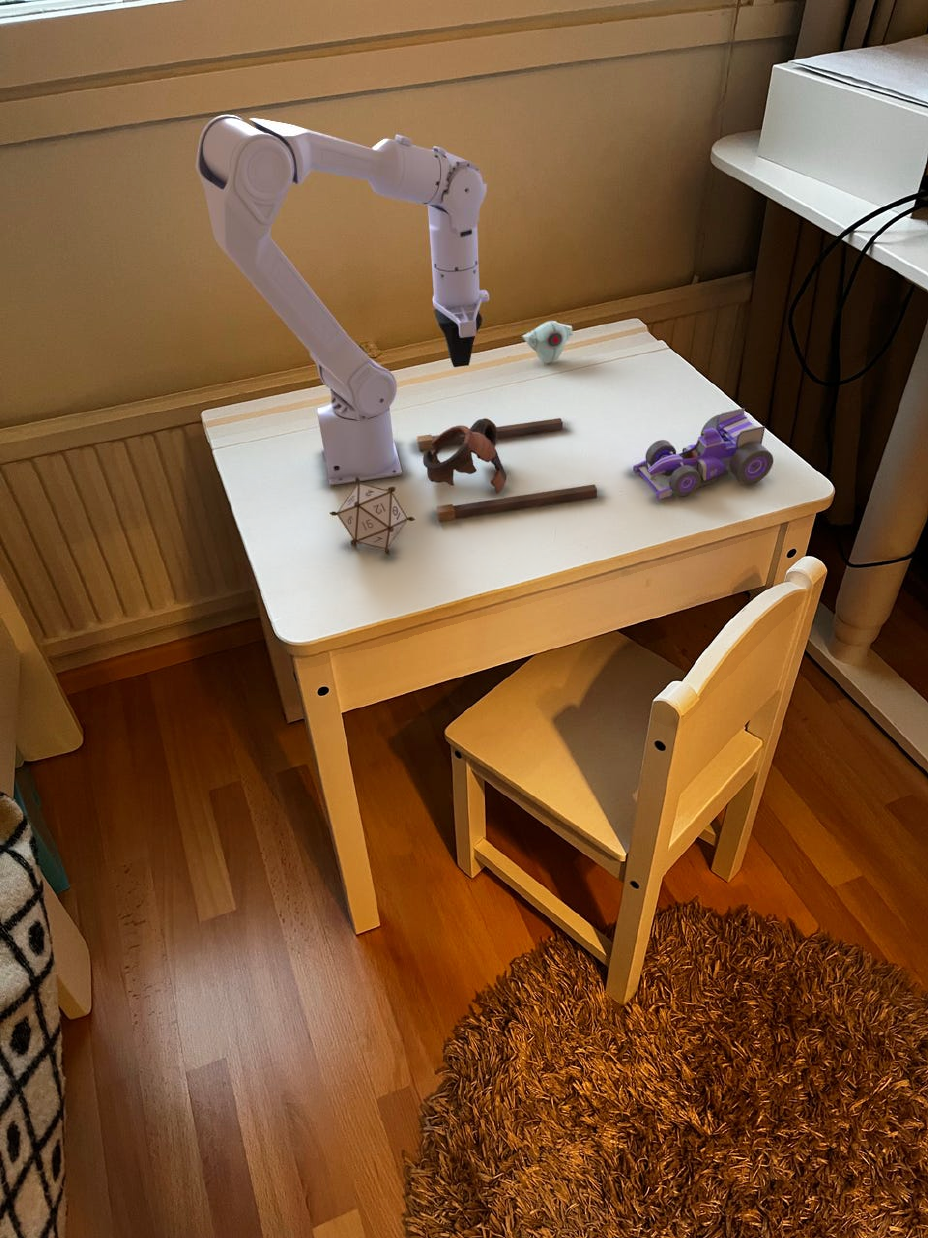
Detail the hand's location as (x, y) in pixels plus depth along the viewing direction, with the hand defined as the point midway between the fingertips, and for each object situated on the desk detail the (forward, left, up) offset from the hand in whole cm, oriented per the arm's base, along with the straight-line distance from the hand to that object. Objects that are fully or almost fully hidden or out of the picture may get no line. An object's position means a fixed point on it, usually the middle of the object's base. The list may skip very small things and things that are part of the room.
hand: (460, 363), depth 121 cm
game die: (-15, -23, -10) cm, 29 cm away
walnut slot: (+3, -12, -9) cm, 16 cm away
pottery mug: (-1, -13, -10) cm, 16 cm away
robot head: (+16, +14, -10) cm, 23 cm away
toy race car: (+27, -19, -10) cm, 34 cm away
